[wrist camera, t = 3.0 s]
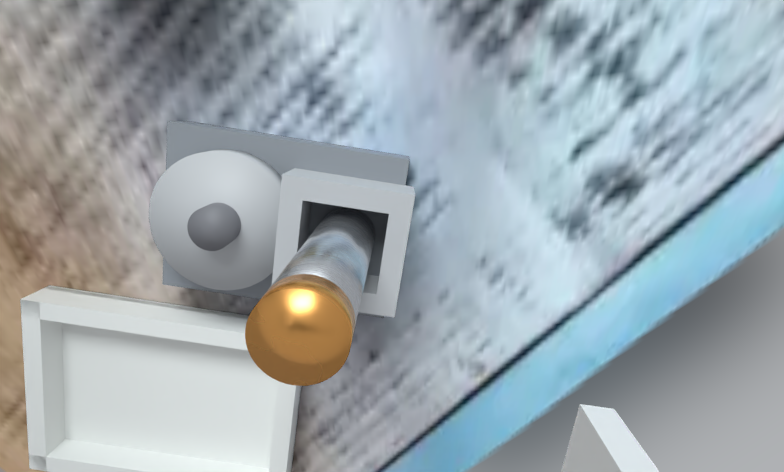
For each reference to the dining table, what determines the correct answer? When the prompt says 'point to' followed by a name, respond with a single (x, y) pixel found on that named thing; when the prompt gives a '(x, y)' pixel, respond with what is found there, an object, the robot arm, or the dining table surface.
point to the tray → (148, 388)
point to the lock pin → (314, 303)
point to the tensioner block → (272, 208)
